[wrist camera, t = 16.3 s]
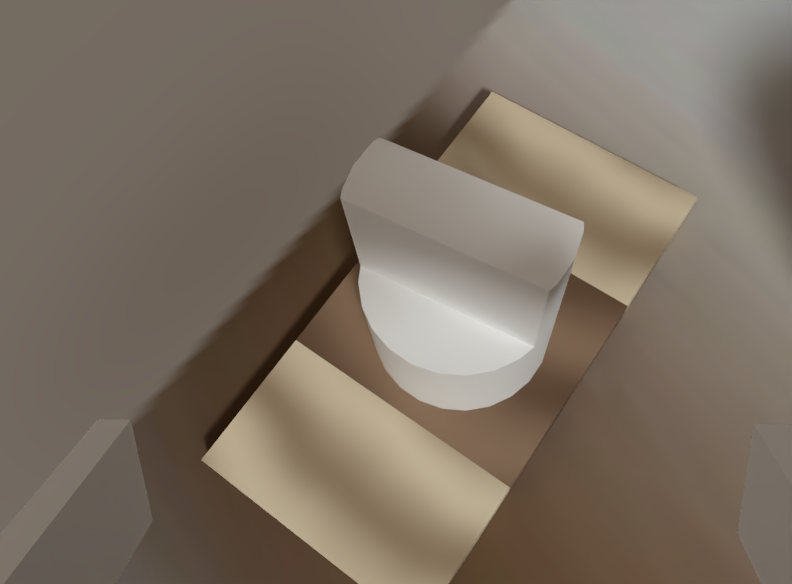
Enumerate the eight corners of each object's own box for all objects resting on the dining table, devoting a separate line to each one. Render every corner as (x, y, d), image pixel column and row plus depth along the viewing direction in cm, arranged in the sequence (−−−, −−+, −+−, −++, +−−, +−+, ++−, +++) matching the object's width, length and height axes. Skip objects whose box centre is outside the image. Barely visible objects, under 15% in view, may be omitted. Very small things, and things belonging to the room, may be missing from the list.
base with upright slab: (341, 361, 38) (292, 260, 27) (423, 220, 41) (409, 77, 30) (502, 443, 36) (519, 369, 25) (578, 288, 39) (624, 160, 28)
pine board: (491, 107, 45) (491, 91, 44) (690, 211, 42) (698, 197, 40) (210, 465, 38) (201, 459, 37) (419, 629, 35) (418, 630, 33)
